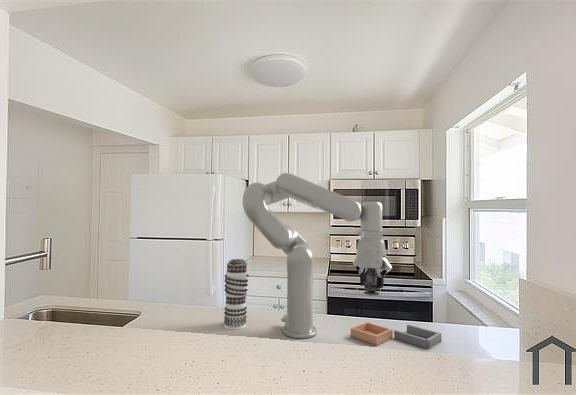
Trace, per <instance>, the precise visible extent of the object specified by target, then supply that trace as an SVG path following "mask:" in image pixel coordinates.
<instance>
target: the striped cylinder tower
mask: <svg viewBox="0 0 576 395" xmlns="http://www.w3.org/2000/svg"><path fill="white" fill-rule="evenodd" d="M247 265H248V263H247V261H246V260H244V259H243V258H241V259H239V258H238V259H237V258H235V259H234V258H233V259H230V260H229V261H228V262H227V263H226V273H225V274H224V278H225V279H224V283H225V284H224V292H225V293H224V295H225V302H224V303H225V305H224V306H225V307H224V310H225V311H224V313H223V314H224V316H223V319H224V320H223V323H224V325H223V327H224V328H225V329H227V330H235V331H236V330H240V329H241V330H242V329H244V328H246V327H245V326H247V315H246V314H247V308H248V307H247V302H246V299H247V298H246V296H247V295H248V292H247V291H248V288H247V287H248V286H249V284H248V282H249V279H247V278H248V277H249V274H248V271H247V270H248V269H247V268H248V267H247Z"/></svg>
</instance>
